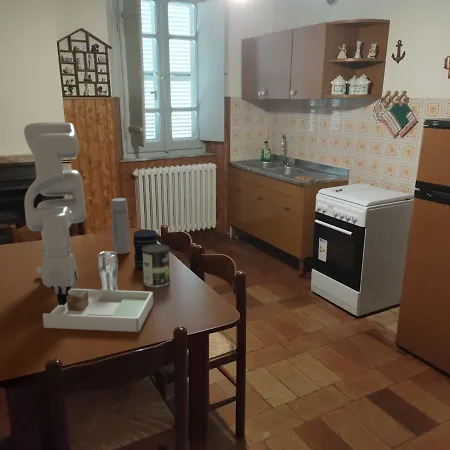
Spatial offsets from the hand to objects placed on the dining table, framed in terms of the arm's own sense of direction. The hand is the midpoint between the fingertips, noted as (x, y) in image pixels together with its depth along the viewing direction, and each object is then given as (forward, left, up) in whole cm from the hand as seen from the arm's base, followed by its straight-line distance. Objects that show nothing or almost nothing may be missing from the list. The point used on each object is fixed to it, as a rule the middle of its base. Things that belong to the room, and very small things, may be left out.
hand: (63, 303), depth 146 cm
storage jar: (+17, +45, -4) cm, 48 cm away
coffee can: (+25, +29, -4) cm, 38 cm away
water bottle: (+1, +61, -4) cm, 61 cm away
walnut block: (+5, 0, -1) cm, 5 cm away
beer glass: (+10, +18, -4) cm, 20 cm away
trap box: (+13, 0, -4) cm, 13 cm away
